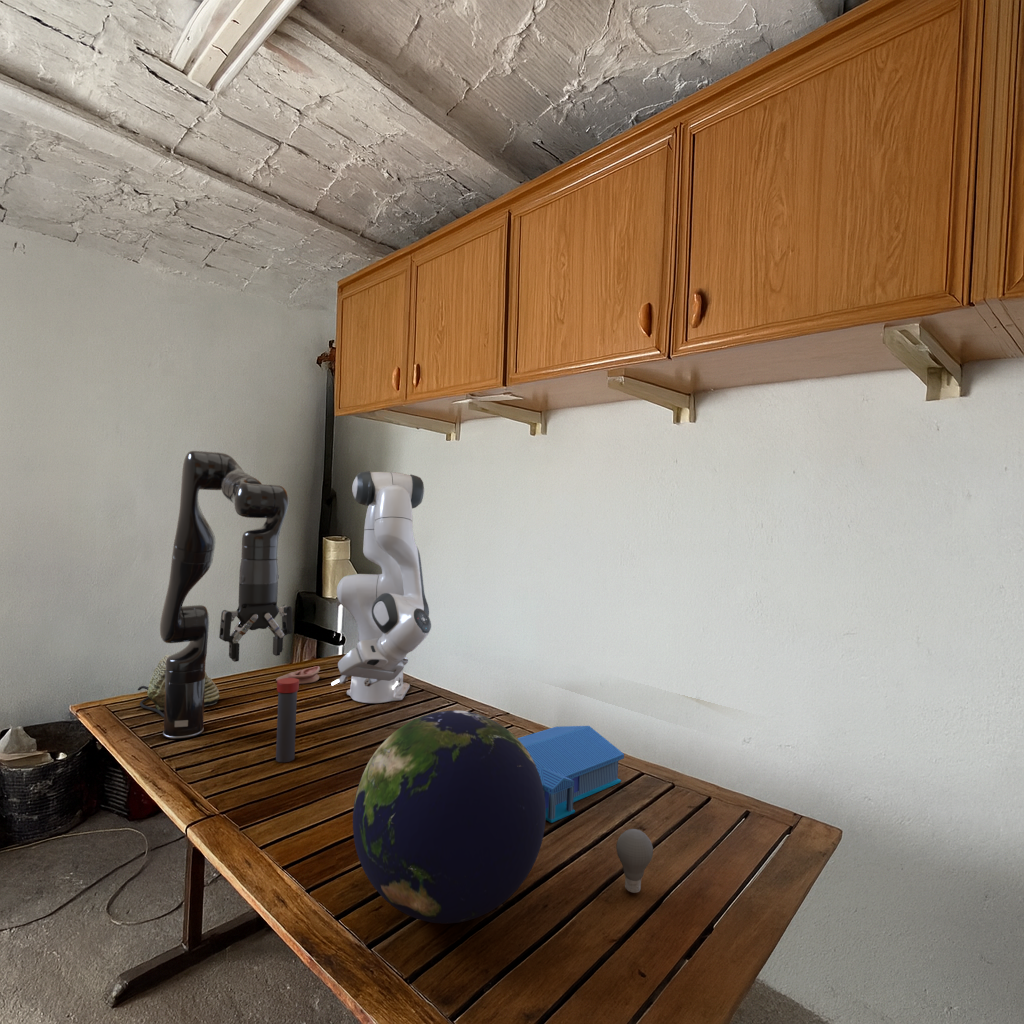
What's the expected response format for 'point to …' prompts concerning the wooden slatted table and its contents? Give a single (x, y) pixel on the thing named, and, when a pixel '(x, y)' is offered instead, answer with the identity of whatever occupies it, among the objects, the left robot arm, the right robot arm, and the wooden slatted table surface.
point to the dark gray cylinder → (286, 727)
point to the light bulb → (634, 857)
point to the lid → (287, 685)
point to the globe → (449, 817)
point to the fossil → (158, 687)
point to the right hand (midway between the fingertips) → (354, 683)
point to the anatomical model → (303, 675)
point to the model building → (571, 765)
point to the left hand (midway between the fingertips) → (256, 657)
